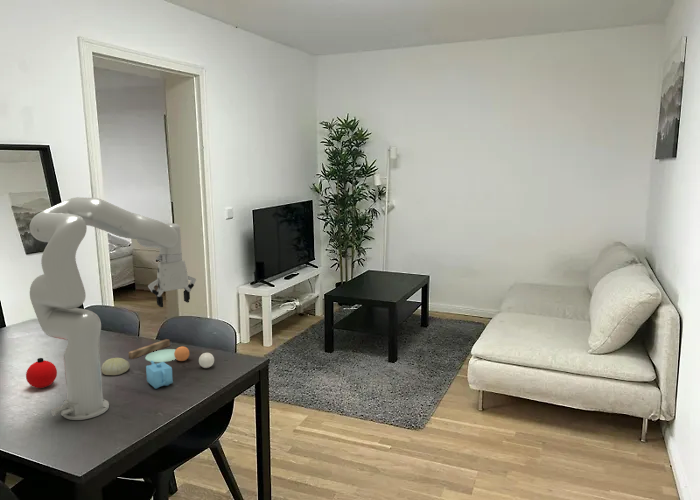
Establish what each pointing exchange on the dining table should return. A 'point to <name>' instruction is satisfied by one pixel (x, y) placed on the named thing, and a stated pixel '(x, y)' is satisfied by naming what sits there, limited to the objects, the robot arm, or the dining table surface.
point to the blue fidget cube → (159, 374)
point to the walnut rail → (149, 349)
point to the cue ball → (206, 360)
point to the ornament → (41, 373)
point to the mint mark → (161, 355)
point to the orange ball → (181, 353)
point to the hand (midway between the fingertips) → (173, 304)
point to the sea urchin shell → (115, 366)
